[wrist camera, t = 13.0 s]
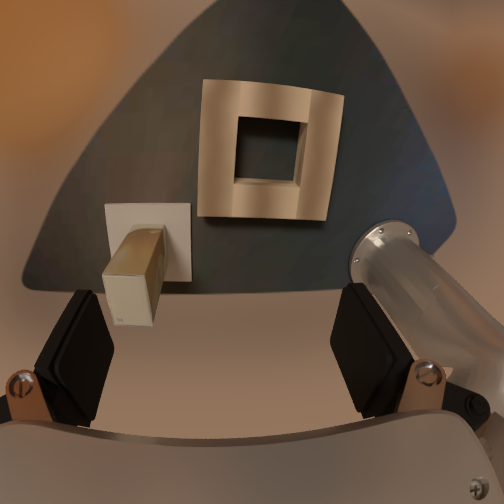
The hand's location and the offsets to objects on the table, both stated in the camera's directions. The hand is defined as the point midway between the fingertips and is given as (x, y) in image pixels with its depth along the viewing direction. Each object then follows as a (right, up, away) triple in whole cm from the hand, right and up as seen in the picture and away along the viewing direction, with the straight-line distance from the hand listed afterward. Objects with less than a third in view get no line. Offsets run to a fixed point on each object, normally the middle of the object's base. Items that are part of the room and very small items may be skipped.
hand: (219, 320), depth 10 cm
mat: (-12, +4, +26) cm, 28 cm away
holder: (+3, +14, +22) cm, 26 cm away
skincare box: (-12, +4, +25) cm, 28 cm away
